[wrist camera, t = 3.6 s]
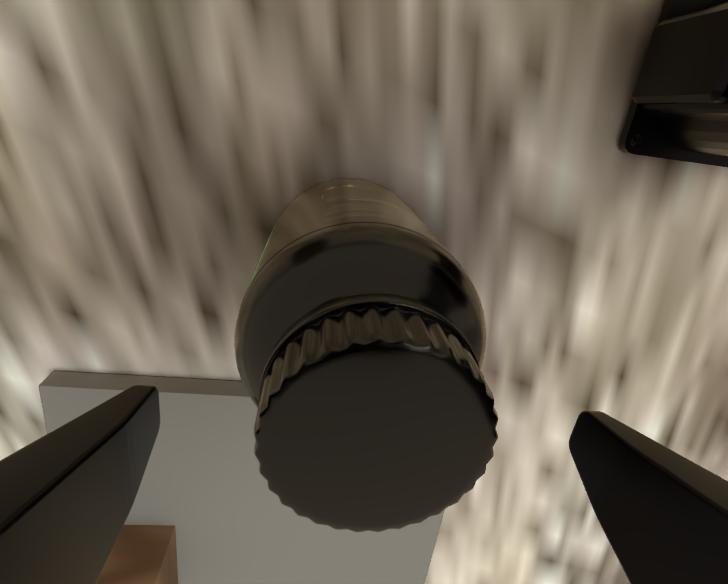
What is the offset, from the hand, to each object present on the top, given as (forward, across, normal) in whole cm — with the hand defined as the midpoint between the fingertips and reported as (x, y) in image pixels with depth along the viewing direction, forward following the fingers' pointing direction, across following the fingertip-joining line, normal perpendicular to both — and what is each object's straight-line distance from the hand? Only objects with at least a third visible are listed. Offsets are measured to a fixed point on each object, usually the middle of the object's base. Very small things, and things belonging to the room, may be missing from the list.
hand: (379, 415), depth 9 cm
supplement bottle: (+11, 0, 0) cm, 11 cm away
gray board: (+11, +3, +14) cm, 18 cm away
